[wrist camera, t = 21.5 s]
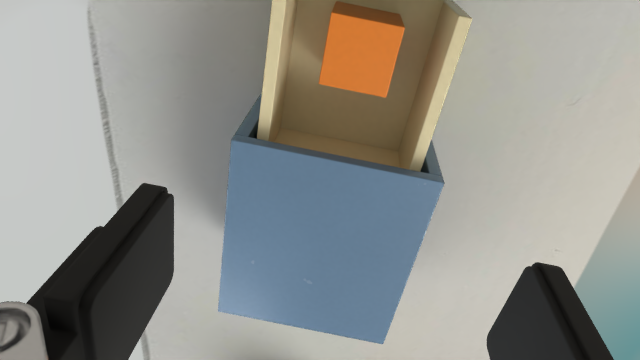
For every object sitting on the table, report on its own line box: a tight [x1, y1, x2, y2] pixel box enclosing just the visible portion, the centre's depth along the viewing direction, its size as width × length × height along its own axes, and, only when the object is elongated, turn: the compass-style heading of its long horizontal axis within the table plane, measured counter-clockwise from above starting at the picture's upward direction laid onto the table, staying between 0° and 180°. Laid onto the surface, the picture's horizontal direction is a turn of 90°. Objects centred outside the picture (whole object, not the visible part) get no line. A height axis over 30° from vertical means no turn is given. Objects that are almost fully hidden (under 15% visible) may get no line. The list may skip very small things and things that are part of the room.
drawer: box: [257, 0, 472, 172], centre depth 27 cm, size 20×13×7 cm, turn 170°
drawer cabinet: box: [218, 94, 444, 344], centre depth 35 cm, size 16×14×9 cm
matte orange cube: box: [319, 1, 405, 98], centre depth 28 cm, size 4×4×4 cm
